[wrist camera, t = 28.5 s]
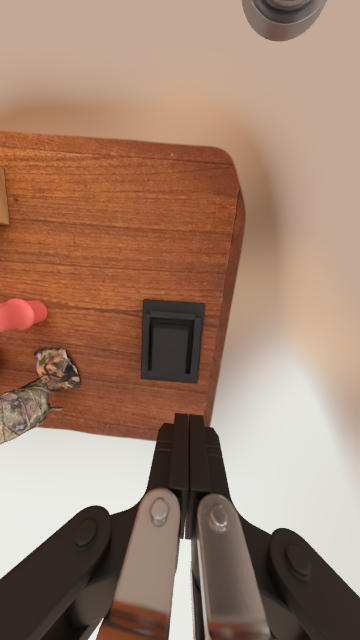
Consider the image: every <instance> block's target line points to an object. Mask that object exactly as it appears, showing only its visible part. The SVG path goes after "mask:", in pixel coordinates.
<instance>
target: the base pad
mask: <svg viewBox="0 0 360 640" xmlns="http://www.w3.org/2000/svg"><path fill="white" fill-rule="evenodd" d="M204 309H205V304H204V303H191V302H178V301H164V300H150V299H144V300H143V322H142V357H141V379H149V380H161V381H172V382H184V383H196V384H197V382H198V372H199V361H200V351H201V340H202V330H203V320H204ZM158 322H162V323H176V324H188V340H187V353H186V366H185V375H172V374H160V373H152V350H153V328H154V327H155V325H156V324H157V323H158Z"/></svg>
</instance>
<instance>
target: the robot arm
mask: <svg viewBox="0 0 360 640" xmlns="http://www.w3.org/2000/svg"><path fill="white" fill-rule="evenodd" d="M265 1H266V2H267V3H268V4H269V5H270V6H272V7H273V8H275V9H278V10H281V11H293V10H297V9H300V8H302V7H304V6H305V5H307V4H308V3H309V2H311V1H312V0H265ZM184 527H185V539H191V553H192V554H191V555H192V561H191V569H190V580H191V600H192V617H193V636H194V637H193V638H194V640H360V597H359V596H358V595H357V594H356V593H355V592H354V591H353V590H352V589H351V588H350V587H349V586H348V585H347V584H346V583H345V582H344V581H343V580H342V578H341V577H340V576H339V575H338V574H336V572H335V571H334V570H333V569H332V568H331V567H330V566H329V565H328V564H327V563H326V562H325V561H324V560H323V559H322V557H320V555H319V554H318V553H317V552H316V551H315V550H314V549H313V548H312V547H311V546H310V545H309V544H308V543H307V542H306V541H305V540H304V539H303V538H302V537H301V536H299V535H298V534H297V533H295V532H294V531H291V530H289V529H286V528H279V529H276V530H275V531H274V532H273V533H272V535H271V534H269V533H267V532H265V531H263V530H261V529H260V528H258V527H256V526H254V525H252V524H250V523H249V522H248V521H246V520H245V519H244V518H243V517H242V516H241V515H240V514H239V513H238V511H237V510H236V508H235V506H234V504H233V502H232V500H231V497H230V493H229V488H228V483H227V477H226V472H225V467H224V463H223V458H222V452H221V448H220V442H219V437H218V435H217V433H216V432H215V430H214V429H213V428H212V427H204V419H203V415H192V414H189V422H188V414H181V413H175V419H174V424H170V423H164V424H163V425H162V427H161V428H160V429H159V431H158V436H157V442H156V447H155V451H154V456H153V461H152V466H151V472H150V476H149V481H148V486H147V489H146V492H145V494H144V496H143V497H142V498H141V500H140V501H139V502H138V503H137V504H136V505H135V506H133V507H132V508H130V509H128V510H125V511H122V512H119V513H116V514H113V515H109V512H108V511H107V510H106V509H105V508H104V507H101V506H90V507H87V508H85V509H83V510H81V511H80V512H79V513H77V514H76V515H75V516H74V517H73V518H71V519H70V520H69V521H68V522H67V523H66V524H65V525H63V526H62V527H61V528H60V529H59V530H57V531H56V532H55V533H54V534H53V535H52V536H50V537H49V538H48V539H47V540H46V541H45V542H43V543H42V544H41V545H40V546H39V547H38V548H36V549H35V550H34V551H33V552H32V553H30V554H29V555H28V556H27V557H26V558H25V559H23V560H22V561H21V562H20V563H19V564H18V565H17V566H15V567H14V568H13V569H12V570H11V571H9V572H8V573H7V574H6V575H5V576H4V577H2V578H1V579H0V640H88V638H89V637H90V636H91V634H92V633H93V631H94V630H95V629H96V627H97V626H98V624H99V623H100V621H101V620H102V618H104V619H103V622H102V624H101V626H100V629H99V632H98V635H97V638H96V640H168V638H169V628H170V617H171V607H172V596H173V586H174V585H173V584H174V576H175V573H176V570H177V563H178V553H179V543H180V539H183V537H184Z"/></svg>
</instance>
